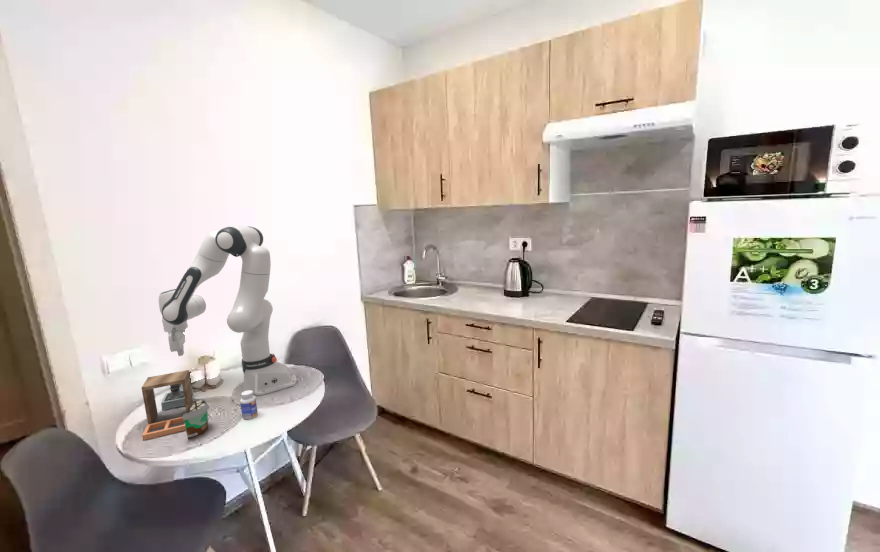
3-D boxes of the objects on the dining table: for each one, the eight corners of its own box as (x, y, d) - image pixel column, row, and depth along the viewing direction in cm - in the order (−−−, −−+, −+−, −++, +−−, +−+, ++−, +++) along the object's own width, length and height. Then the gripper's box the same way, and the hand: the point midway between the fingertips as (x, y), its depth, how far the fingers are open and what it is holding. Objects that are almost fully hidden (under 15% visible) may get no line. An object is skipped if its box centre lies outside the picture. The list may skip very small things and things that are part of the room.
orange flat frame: (190, 419, 146) (190, 414, 146) (187, 430, 139) (186, 425, 139) (148, 429, 140) (147, 424, 140) (143, 440, 133) (142, 435, 133)
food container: (206, 438, 133) (202, 411, 132) (186, 441, 132) (182, 414, 130) (216, 420, 145) (212, 395, 143) (197, 423, 143) (193, 398, 142)
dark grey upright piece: (178, 408, 156) (173, 380, 154) (165, 407, 156) (160, 380, 154) (189, 400, 161) (185, 374, 159) (176, 400, 162) (172, 373, 160)
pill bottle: (255, 418, 145) (252, 395, 143) (240, 420, 144) (236, 396, 142) (259, 411, 150) (256, 388, 149) (245, 413, 149) (241, 390, 148)
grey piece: (198, 380, 181) (196, 370, 180) (190, 404, 158) (188, 392, 157) (173, 384, 177) (172, 374, 176) (162, 410, 154) (160, 398, 153)
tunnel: (194, 407, 155) (188, 369, 153) (191, 419, 147) (184, 379, 144) (155, 416, 150) (148, 377, 147) (148, 428, 141) (141, 387, 138)
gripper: (180, 329, 163) (186, 360, 165) (187, 319, 181) (192, 347, 183) (162, 332, 160) (168, 364, 162) (171, 321, 178) (176, 349, 181)
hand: (181, 354), depth 173 cm, fingers closed
